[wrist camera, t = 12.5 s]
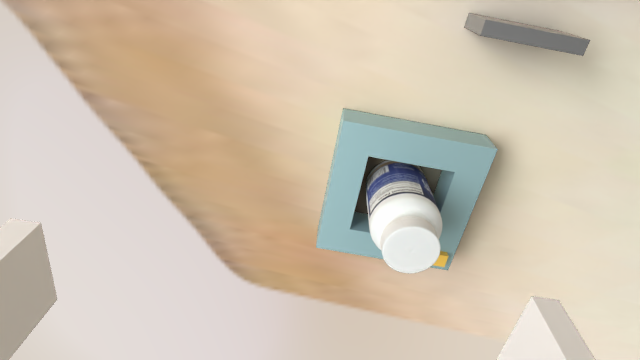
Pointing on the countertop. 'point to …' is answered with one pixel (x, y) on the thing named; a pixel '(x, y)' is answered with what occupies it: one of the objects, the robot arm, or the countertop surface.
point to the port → (407, 147)
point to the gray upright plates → (526, 34)
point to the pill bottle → (403, 216)
